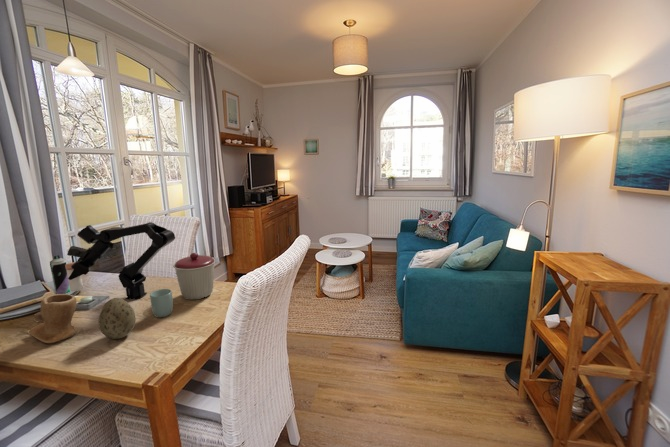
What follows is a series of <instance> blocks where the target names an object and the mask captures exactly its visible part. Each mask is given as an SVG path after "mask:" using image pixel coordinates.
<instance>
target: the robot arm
mask: <svg viewBox="0 0 670 447" xmlns="http://www.w3.org/2000/svg"><path fill="white" fill-rule="evenodd" d="M143 233H145V235H146V236H147V237H148V238H149V239H151V240H152V241H151V244H150V246H149V247H148V248H147V249H146V250H145V251H144V252H143V253H141V255H140V256H139V258H137V259H136V260H135V262H131V263H129V264H127V265H125V266H124V267H122V269H121V270H120V271H119V272H118V273H119V274H118V276H117V277H118V280H119V282H120V283H121V286H122V287H123V289H125V295H126V297H125V298H124V300H140V299H141V298H143V297H145V296H146V295H147V294H148V292H146V291H145V284H144V282H145V281H146V279H147V276H145V275H144V274H143V270H144V268H145V266H146V265H148V263H150V261H151V260H152V259H153V258H154V257H155V256H156V255H158V253H159V252H160V251H161V250H162V249H164V248H165V247H167V246H168V245H170V244H171V243H172V242H174V241H175V240H176V236H175V233H174V231H172V230H171V229H170V230H169V229H167V228H166V227H164V226H160V225H157V223H155V222H152V221H149V222H146V223H142V224H137V225H131V226H127V227H123V226H122V227H121V226H118V227H117V226H114V227H109V228H107V229H106V228H104V229H102V230H100V231H98V230H97V229H95V228H94V227H93V226H92V225H91V224H90V225H86V226H85V227H84V228H82V229H80V231H78V233H77V236H78V237H79V238H80V239H82V240H83V241H84V242H85V243H87V244H89V245H90V244H92V246H90V247H88V248H87V249H86V248H83V247H79V246H76V245H71V246H70V247H69V248H68V250H67V253H66V256H69V257H71V256H72V257H77V258H78V259H77V260H76V261H74V262H75V263H74V264H73V265H72V266H71V267H72V268H73V269H74V270H73V272H72V273H71V275H70V276H69V278H68V279H69V280H72V279H74V278H76V277H78V276H81V277H82V276H85V275H86V276H87V274H88V273H89V272H90V271H91V268H92V267H93V266H95V263H97V261H99V260H100V259H101V258H102V256H104V255H105V254H106V253H107V251H108V250H110V249H112V250H116V249H117V243H116V242H113V241H116V240H119V239H122V238H123V237H128V236H134V235H139V234H143Z"/></svg>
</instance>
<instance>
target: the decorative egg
mask: <svg viewBox="0 0 670 447" xmlns="http://www.w3.org/2000/svg"><path fill="white" fill-rule="evenodd" d="M136 319H137V318H136V313H135V310H134V308H133V307H132V306H131V304H130V303H129V302H127V300H126V299H123V298H121V297H113V298H110V299H109V300H108V301H107V302H106V303H105V304H104V306H103V307H102V308H101V310H100V312H99V316H98V327H99V331H100V332H101V333H102V335H104V337H107V338H108V339H111V340H112V339H113V340H119V339H122V338H124V337H126V336H127V335H129V334H130V333H131V332H132V330H133V329H134V327H135V325H136Z"/></svg>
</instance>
